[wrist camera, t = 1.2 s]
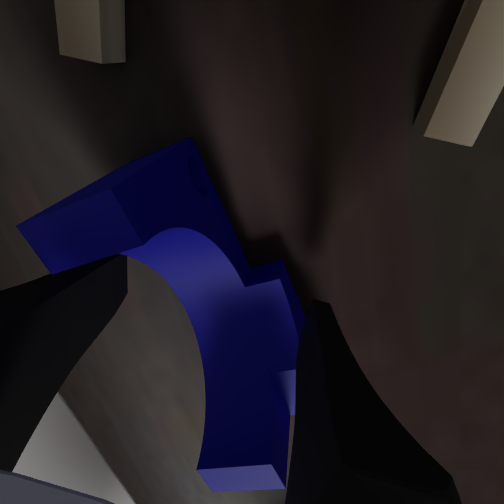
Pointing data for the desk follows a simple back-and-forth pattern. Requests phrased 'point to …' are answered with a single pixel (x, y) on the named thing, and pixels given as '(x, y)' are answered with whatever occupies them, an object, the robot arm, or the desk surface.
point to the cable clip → (197, 300)
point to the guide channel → (436, 99)
